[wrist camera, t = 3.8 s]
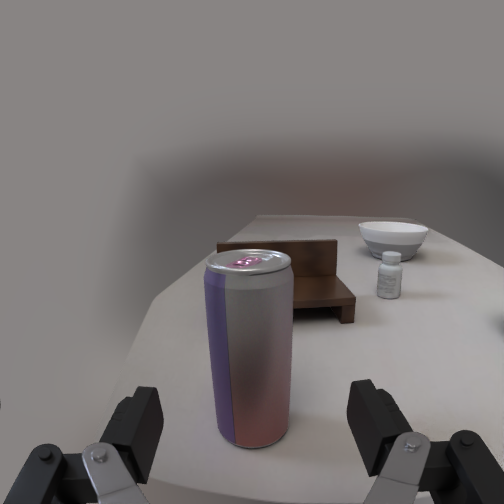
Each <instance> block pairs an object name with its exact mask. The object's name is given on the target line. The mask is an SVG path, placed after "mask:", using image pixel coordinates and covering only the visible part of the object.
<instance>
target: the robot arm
mask: <svg viewBox="0 0 504 504" xmlns="http://www.w3.org/2000/svg"><path fill="white" fill-rule="evenodd" d="M347 420H348V424H349V426H350V429H351V431H352V434H353V436H354V439H355V441H356V444H357V446H358V449H359V452H360V454H361V457H362V459H363V462H364V465H365V467H366V470H367V472H368V475H369V477H372V476H376V475H378V477H377V479H376V480H375V482H374V484H373V486H372V488H371V490H370V492H369V494H368V496H367V497H366V499H365V501H364V503H363V504H413V503H414V500H415V497H416V495H417V492H423V491H429V492H430V494H431V497H432V499H433V501H434V504H504V472H503V470H502V468H501V467H500V465H499V464H498V462H497V461H496V459H495V458H494V456H493V455H492V453H491V452H490V450H489V449H488V447H487V446H486V445H485V443H484V442H483V440H482V439H481V437H480V436H479V435H478V434H476V433H475V432H473V431H469V430H461V431H458V432H456V433H454V434H453V435H452V437H451V439H450V441H440V442H431V441H429V439H428V438H427V437H426V436H425V435H423V434H421V433H418V432H413V430H412V428H411V427H410V425H409V423H408V422H407V420H406V418H405V417H404V415H403V414H402V412H401V410H399V407H398V406H397V404H396V402H395V401H394V399H393V397H392V396H391V395H390V394H389V393H388V392H386V391H385V390H383V389H377V390H376V388H375V386H374V384H373V383H372V381H371V380H370V379H367V380H360V381H353V382H352V383H351V387H350V394H349V400H348V405H347ZM163 424H164V418H163V412H162V408H161V404H160V399H159V395H158V391H157V388H155V387H141V386H139V387H137V389H136V391H135V393H134V395H133V397H126V398H125V399H123V400H122V401H121V402H120V403H119V404H118V405H117V407H116V409H115V411H114V413H113V415H112V417H111V420H110V421H109V423H108V425H107V427H106V429H105V431H104V433H103V435H102V437H101V439H100V441H99V443H94V444H91V445H89V446H88V447H87V448H85V449H84V451H83V453H79V454H63V453H62V452H61V450H60V448H59V447H57V446H56V445H53V444H42V445H39V446H37V447H36V448H34V449H33V451H32V452H31V454H30V455H29V457H28V459H27V461H26V462H25V464H24V467H23V468H22V470H21V471H20V473H19V475H18V477H17V479H16V480H15V482H14V484H13V486H12V488H11V490H10V492H9V493H8V495H7V497H6V499H5V501H4V503H3V504H86V503H99V504H149V502H148V501H147V499H146V497H145V496H144V494H143V493H142V491H141V490H140V488H139V486H138V485H137V483H142V484H147V480H148V477H149V473H150V470H151V467H152V463H153V460H154V456H155V453H156V450H157V446H158V443H159V439H160V436H161V433H162V430H163Z"/></svg>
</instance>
